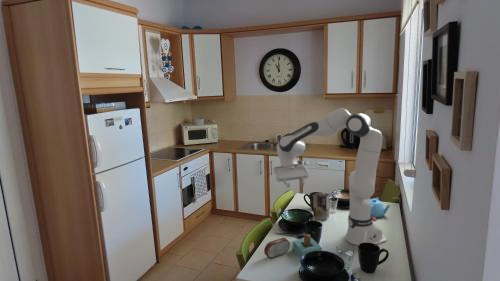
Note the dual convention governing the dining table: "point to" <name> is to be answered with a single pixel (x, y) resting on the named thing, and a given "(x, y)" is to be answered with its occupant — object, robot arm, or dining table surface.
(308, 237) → the walnut dowel
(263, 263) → the dining table surface
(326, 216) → the coffee box
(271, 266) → the dining table surface
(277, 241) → the tin
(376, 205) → the teapot
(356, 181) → the robot arm
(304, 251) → the teal square-hole block
